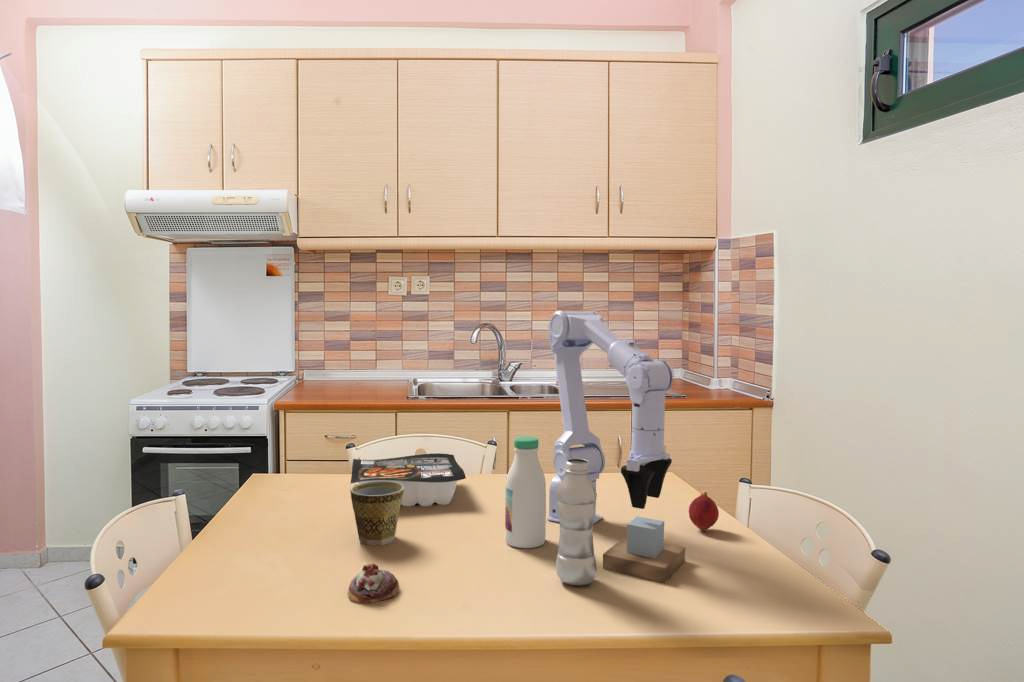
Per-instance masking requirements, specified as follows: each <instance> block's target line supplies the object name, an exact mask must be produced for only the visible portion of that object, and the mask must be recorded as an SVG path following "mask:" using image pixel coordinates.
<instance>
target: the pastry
mask: <svg viewBox="0 0 1024 682" xmlns="http://www.w3.org/2000/svg"><path fill="white" fill-rule="evenodd" d="M399 592H400V584H399V580H398V579H397V577H396V576H395V575H394V574H393V573H392V572H390V571H388V570H386V569H381V568H379V565H378V564H375V563H369V564H364V565H363V566H362V570H361V571H359V573H358V574H356V575H355V576H354V577H353V578H352V579H351V582H350V584H349V587H348V589H347V595H348V599H350V601H353V602H355V603H357V604H377V603H381V602H386V601H390V600H391V599H393V598H394V597H395V596H396V595H397V594H398V593H399Z"/></svg>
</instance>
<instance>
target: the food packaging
mask: <svg viewBox="0 0 1024 682" xmlns="http://www.w3.org/2000/svg"><path fill="white" fill-rule="evenodd" d="M466 478H467V477H466V474H465V470H464V469H463V468H462V467H461V466H460V465H459V463H458V462H457V459H456V458H455V456H454V454H449V453H439V452H438V453H436V452H435V453H424V454H423V453H422V454H415V455H407V456H399V457H398V456H397V457H391V458H381V459H380V458H379V459H358V458H353V459H352V468H351V478H350V485H351V484H355V483H358V484H361V483H366V482H373V481H389V482H396V483H399V484H401V485H403V487H404V490H403V497H402V502H401V506H402V507H413V506H415V505H417V504H418V505H419V506H421V507H430V506H432V505H434V504H435V503H436V504H437V505H448V504H450V503H451V500H452V499H453V496H454V494H455V492H456V488H457V481H462V480H465V479H466Z"/></svg>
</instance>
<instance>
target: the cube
mask: <svg viewBox="0 0 1024 682" xmlns="http://www.w3.org/2000/svg"><path fill="white" fill-rule="evenodd" d="M626 528H627V529H626V535H627V553H631V554H635V555H640V556H645V557H650V558H656V557H657V556H658V555H659V554H660V553H661V551H662V550H663V549H664V543H665V520H659V519H653V518H649V517H643V516H638V515H637V516H635V517H634V518H633V519H632V520H630V521H628V523H627V525H626Z"/></svg>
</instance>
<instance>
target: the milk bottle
mask: <svg viewBox="0 0 1024 682" xmlns="http://www.w3.org/2000/svg"><path fill="white" fill-rule="evenodd" d="M513 445H514V449H513V450H514V451H515V454H514V458H513V462H512V464H511V466H510V467H509V468H510V469H509V470H508V473H507V476H506V480H505V481H506V483H505V509H504V511H505V515H504V516H505V521H504V527H505V528H504V534H505V535H504V536H505V537H504V540H505V542H506V543H507V544H508V545H509V546H511V547H514V548H519V549H534V548H538V547H541V546H543V545H544V544H545V542H546V529H547V528H546V527H547V525H546V524H547V521H546V520H547V503H546V502H547V487H546V486H547V483H546V477H545V473H544V470H543V469H542V466H541V463H540V460H539V457H538V451H539V438H537V437H534V436H518V437H515V438H514V441H513Z"/></svg>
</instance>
